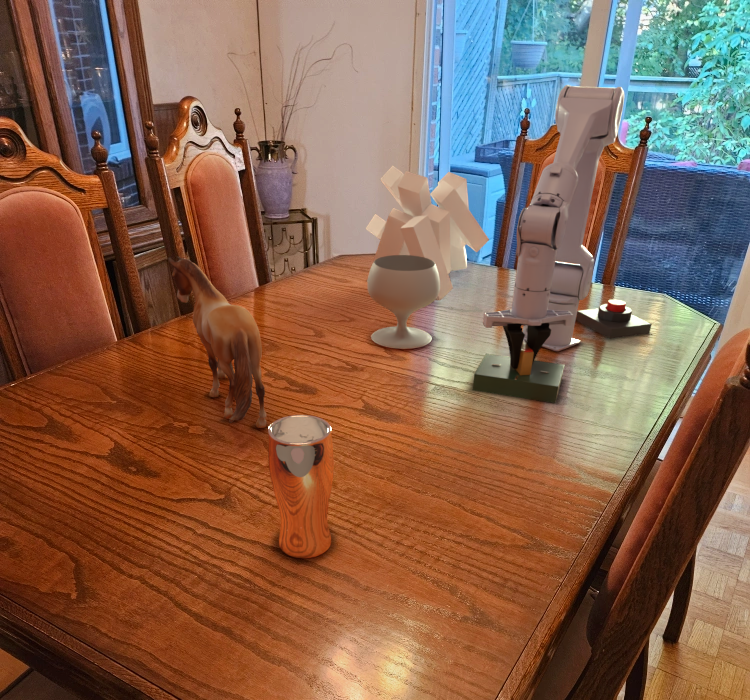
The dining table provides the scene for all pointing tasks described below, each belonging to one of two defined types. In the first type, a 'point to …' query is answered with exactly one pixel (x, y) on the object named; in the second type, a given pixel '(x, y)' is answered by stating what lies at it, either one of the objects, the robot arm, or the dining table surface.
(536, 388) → the switch panel
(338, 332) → the dining table surface
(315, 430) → the beer glass
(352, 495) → the dining table surface
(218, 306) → the horse figurine
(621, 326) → the switch block
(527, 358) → the upright orange tab
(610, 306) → the red button
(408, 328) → the chalice
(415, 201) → the pile of blocks
